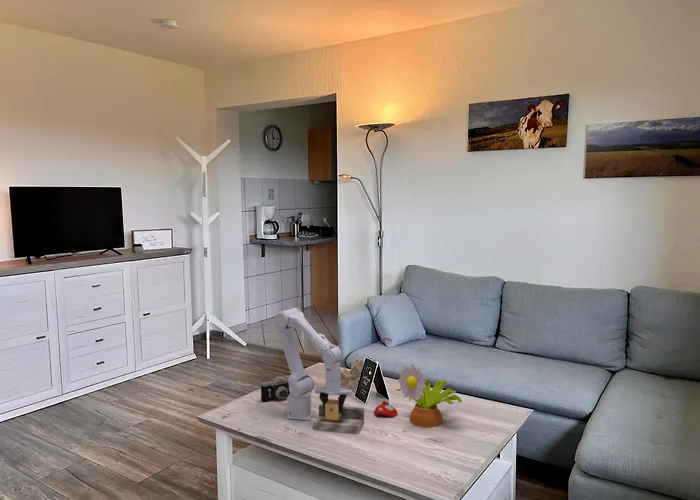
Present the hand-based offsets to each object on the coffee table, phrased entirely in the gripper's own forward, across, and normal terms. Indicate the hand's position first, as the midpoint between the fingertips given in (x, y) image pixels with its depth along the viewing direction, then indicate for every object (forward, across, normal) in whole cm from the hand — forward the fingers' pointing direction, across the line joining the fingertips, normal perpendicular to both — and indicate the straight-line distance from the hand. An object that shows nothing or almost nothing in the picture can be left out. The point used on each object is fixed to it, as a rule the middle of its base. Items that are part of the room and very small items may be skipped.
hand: (333, 412), depth 201 cm
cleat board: (+5, +2, 0) cm, 6 cm away
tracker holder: (+6, +18, +17) cm, 25 cm away
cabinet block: (+2, 0, 0) cm, 2 cm away
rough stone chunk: (+6, -4, +43) cm, 43 cm away
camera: (+6, -31, +20) cm, 38 cm away
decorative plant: (+6, +36, +13) cm, 39 cm away
